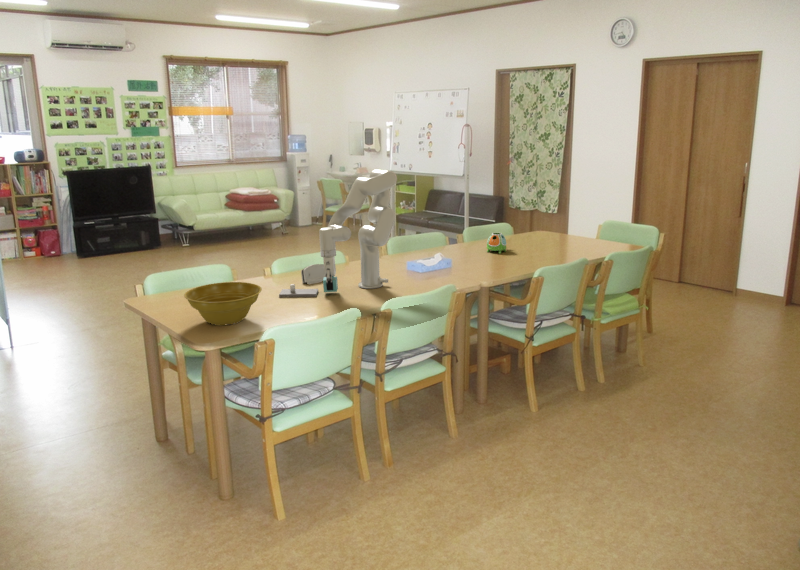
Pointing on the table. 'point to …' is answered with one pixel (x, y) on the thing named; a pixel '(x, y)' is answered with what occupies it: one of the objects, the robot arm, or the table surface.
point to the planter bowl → (223, 301)
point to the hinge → (313, 274)
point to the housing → (335, 285)
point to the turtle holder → (496, 242)
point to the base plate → (298, 292)
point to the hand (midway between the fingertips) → (330, 287)
